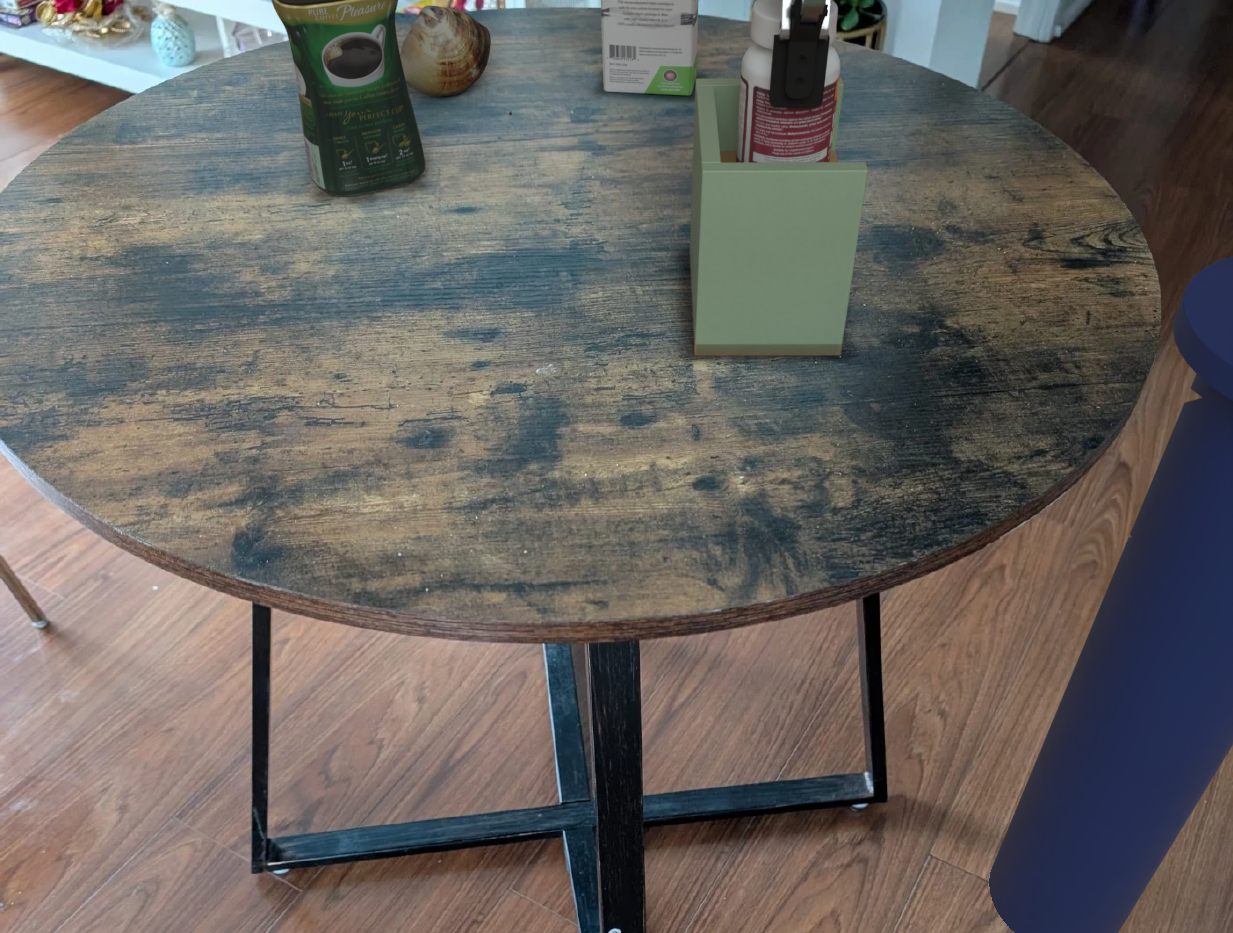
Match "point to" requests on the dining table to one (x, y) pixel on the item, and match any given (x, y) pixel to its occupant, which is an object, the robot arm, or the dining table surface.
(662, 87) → the ink box
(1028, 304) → the dining table surface
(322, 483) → the dining table surface
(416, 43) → the seashell
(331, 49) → the coffee jar
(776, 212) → the green pencil holder
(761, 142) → the pill bottle
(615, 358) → the dining table surface
